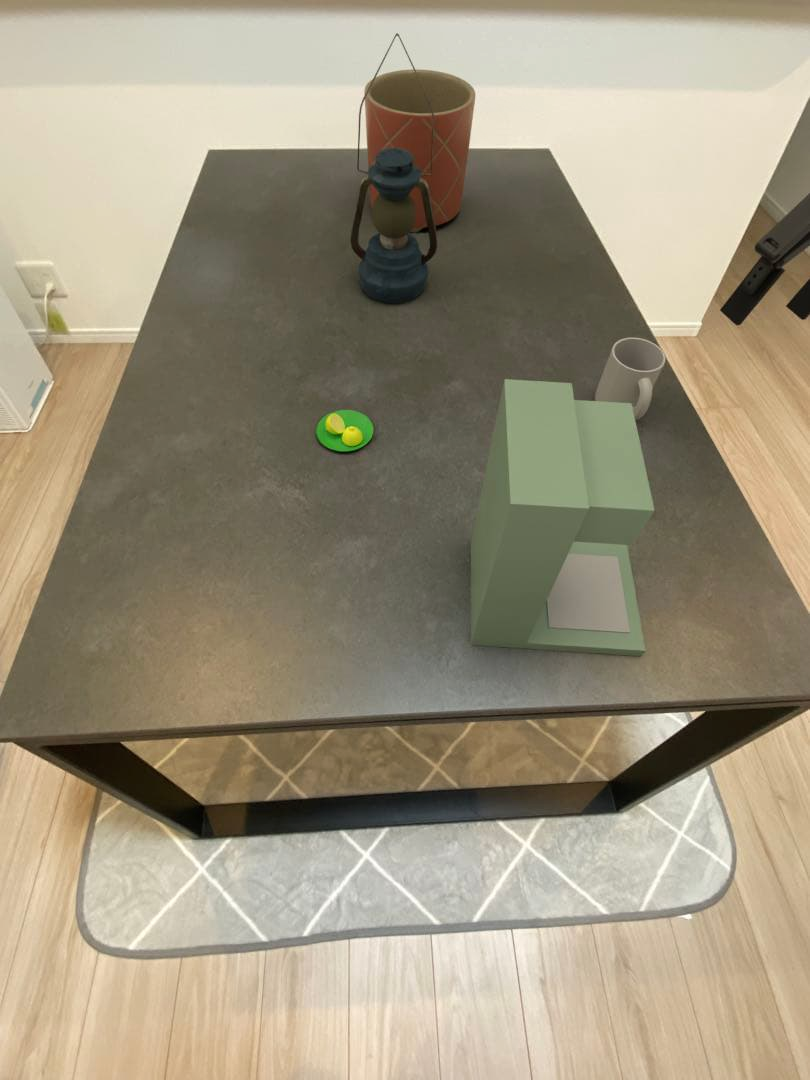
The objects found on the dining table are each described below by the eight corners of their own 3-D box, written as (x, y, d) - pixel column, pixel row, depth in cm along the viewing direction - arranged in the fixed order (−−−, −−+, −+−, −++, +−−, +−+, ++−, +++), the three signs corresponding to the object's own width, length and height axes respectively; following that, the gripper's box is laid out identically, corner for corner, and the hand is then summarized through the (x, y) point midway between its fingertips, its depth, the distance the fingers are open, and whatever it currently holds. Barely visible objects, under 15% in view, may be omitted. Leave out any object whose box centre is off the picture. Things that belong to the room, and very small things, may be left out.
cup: (632, 384, 92) (653, 335, 84) (656, 432, 86) (682, 384, 79) (587, 388, 91) (604, 339, 84) (608, 436, 86) (629, 388, 78)
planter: (412, 246, 112) (416, 125, 95) (347, 205, 119) (341, 86, 103) (483, 213, 119) (498, 94, 102) (418, 176, 127) (423, 60, 110)
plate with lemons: (310, 449, 83) (308, 435, 80) (324, 409, 87) (322, 394, 85) (367, 458, 82) (366, 443, 80) (378, 417, 87) (378, 402, 84)
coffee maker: (623, 551, 75) (718, 391, 53) (641, 656, 67) (762, 519, 45) (470, 541, 75) (504, 378, 53) (470, 645, 67) (510, 503, 46)
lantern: (349, 303, 101) (333, 47, 72) (356, 263, 108) (345, 14, 79) (432, 308, 101) (450, 53, 72) (435, 268, 108) (452, 20, 79)
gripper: (959, 106, 61) (797, 293, 77) (837, 68, 49) (675, 298, 65) (1025, 143, 58) (841, 329, 74) (911, 111, 46) (722, 342, 62)
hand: (763, 315), depth 70 cm, fingers open, 13 cm apart
